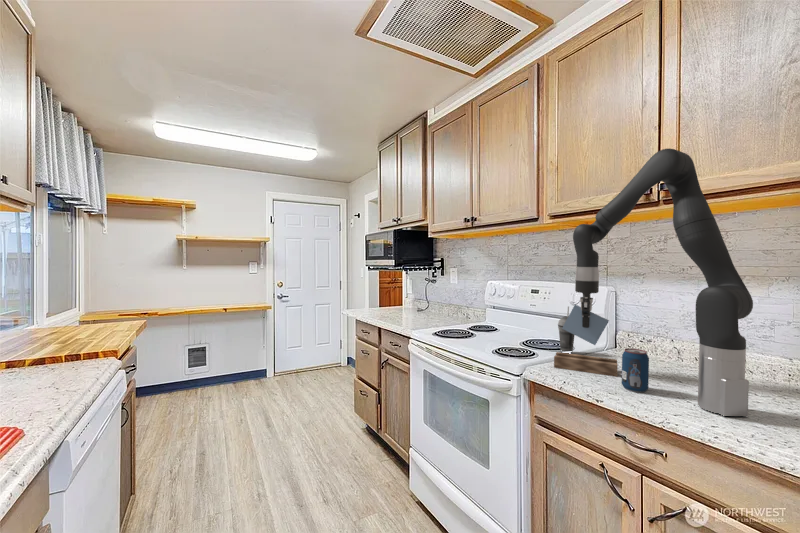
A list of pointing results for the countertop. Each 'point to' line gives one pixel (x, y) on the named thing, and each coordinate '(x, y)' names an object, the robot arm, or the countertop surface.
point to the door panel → (575, 327)
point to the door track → (586, 363)
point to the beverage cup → (565, 335)
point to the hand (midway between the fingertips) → (585, 326)
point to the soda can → (635, 370)
